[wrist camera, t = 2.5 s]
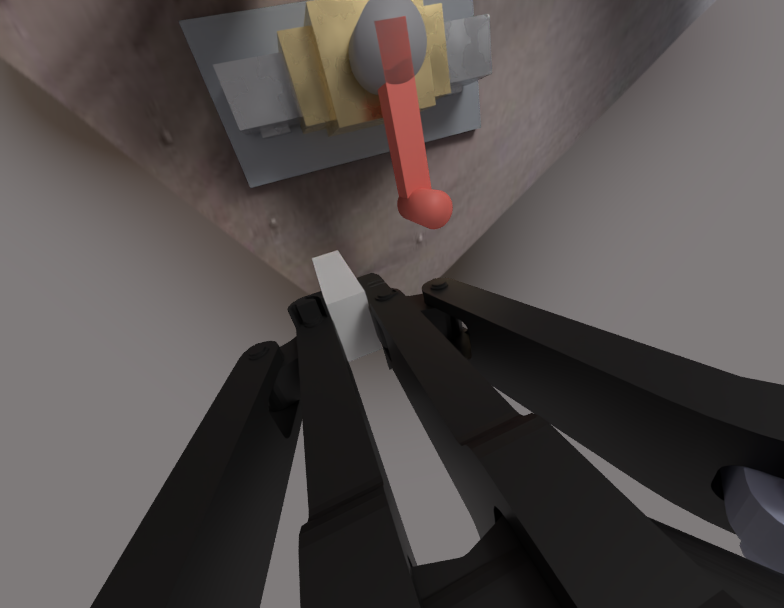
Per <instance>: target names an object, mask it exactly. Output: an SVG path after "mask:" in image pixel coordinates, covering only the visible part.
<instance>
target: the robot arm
mask: <svg viewBox="0 0 784 608" xmlns="http://www.w3.org/2000/svg"><path fill="white" fill-rule="evenodd" d="M312 260H313V264H314V267H315V270H316V274H317V277H318V281H319V284H320V287H321V291H320V292H317V293H314V294H311V295H308V296H305V297H302V298H300V299H298V300H296V301H295V302H293V303H292V304H291V305H290V306H289V307H288V312H289V314H290V316H291V319H292V321H293V323H294V325H295V327H296V333H297V336H296V337H295V338H294V339H292V340H291V341H290V342H288V343H286V344H284V345H283V346H281V347H279V345H278V344H277V343H276V342H275V341H266V342H262V343H258V344H255V346H252V347H250V348H249V349H248V350H247V351H246V352H244V353H243V354H242V356H241V357H240V358H239V360H238V362H237V363H236V365H235V367H234V368H233V370H232V372H231V373H230V375H229V377H228V378H227V380H226V382H225V383H224V385H223V387H222V388H221V390H220V392H219V393H218V395H217V397H216V398H215V400H214V402H213V403H212V405H211V407H210V408H209V410H208V412H207V413H206V415H205V417H204V419H203V420H202V422H201V423H200V425H199V427H198V428H197V430H196V432H195V434H194V435H193V437H192V438H191V440H190V442H189V443H188V445H187V447H186V449H185V450H184V452H183V453H182V455H181V457H180V458H179V460H178V462H177V463H176V465H175V467H174V468H173V470H172V472H171V473H170V475H169V477H168V478H167V480H166V482H165V483H164V485H163V487H162V488H161V490H160V492H159V493H158V495H157V497H156V498H155V500H154V502H153V504H152V505H151V507H150V509H149V510H148V512H147V513H146V515H145V517H144V518H143V520H142V522H141V524H140V525H139V527H138V529H137V530H136V532H135V534H134V535H133V537H132V539H131V540H130V542H129V544H128V545H127V547H126V549H125V550H124V552H123V554H122V555H121V557H120V559H119V560H118V562H117V564H116V565H115V567H114V569H113V570H112V572H111V574H110V575H109V577H108V579H107V580H106V582H105V584H104V585H103V587H102V589H101V590H100V592H99V594H98V595H97V597H96V599H95V600H94V602H93V604H92V605H91V607H90V608H260V604H261V599H262V595H263V590H264V586H265V582H266V577H267V572H268V568H269V564H270V560H271V555H272V551H273V546H274V542H275V537H276V533H277V529H278V524H279V520H280V515H281V511H282V506H283V502H284V497H285V493H286V489H287V484H288V480H289V475H290V471H291V467H292V462H293V457H294V453H295V449H296V445H297V440H298V436H299V431H300V427H301V422H302V420H303V435H304V449H305V462H306V463H305V464H306V478H307V492H308V507H309V518H308V522H307V523H306V524H304V525H303V526H302V527H301V530H300V534H299V576H300V577H299V578H300V606H301V608H784V385H781V384H776V383H770V382H765V381H760V380H755V379H750V378H745V377H740V376H737V375H734V374H731V373H728V372H725V371H722V370H719V369H716V368H714V367H711V366H707V365H704V364H702V363H699V362H696V361H693V360H690V359H687V358H684V357H681V356H678V355H675V354H672V353H669V352H666V351H663V350H660V349H657V348H654V347H651V346H648V345H646V344H643V343H640V342H637V341H634V340H631V339H628V338H625V337H622V336H619V335H616V334H613V333H610V332H607V331H604V330H601V329H598V328H595V327H592V326H589V325H586V324H584V323H580V322H578V321H575V320H572V319H568V318H566V317H563V316H560V315H557V314H554V313H551V312H548V311H545V310H542V309H539V308H536V307H533V306H530V305H527V304H524V303H521V302H519V301H516V300H513V299H509V298H506V297H504V296H501V295H498V294H495V293H492V292H489V291H486V290H483V289H480V288H477V287H474V286H471V285H468V284H465V283H462V282H459V281H456V280H453V279H449V278H437V279H436V278H435V279H432V280H431V281H428V282H427V283H425V284H424V285H423V286H422V292H423V294H419V295H413V296H405V295H404V294H403V293H402V292H401V291H400V290H398V289H394V288H390V287H389V286H388V285H387V284H386V282H385V281H384V280H383V279H382V278H381V277H380V276H379V275H377V274H374V273H370V274H367V275H364V276H361V277H358V278H356V277H355V276H354V274H353V273H352V271H351V270H350V268H349V267H348V265H347V264H346V262H345V261H344V259H343V258H342V256H341V255H340V253H339V252H338V250H337V251H333V252H330V253H327V254H324V255H321V256H318V257H315V258H312ZM462 322H463V323H464V324H465V325H466V326H467V328H468V329H466V328H464V327H462ZM380 342H381V343H380ZM381 344H382V346H383V350H384V353H385V356H386V360H387V363H388V366H389V369H393V371H394V373H395V374H396V376H397V378H398V380H399V382H400V384H401V386H402V387H403V389H404V391H405V393H406V395H407V397H408V399H409V401H410V403H411V404H412V406H413V408H414V410H415V412H416V414H417V416H418V417H419V419H420V421H421V423H422V425H423V427H424V429H425V430H426V432H427V434H428V436H429V438H430V440H431V442H432V444H433V445H434V447H435V449H436V451H437V453H438V455H439V457H440V459H441V460H442V462H443V464H444V466H445V468H446V470H447V471H448V473H449V475H450V477H451V479H452V481H453V482H454V485H455V486H456V488H457V490H458V492H459V494H460V496H461V498H462V500H463V501H464V503H465V505H466V507H467V509H468V511H469V513H470V515H471V517H472V519H473V521H474V523H475V526H476V528H477V531H478V533H479V536H480V541H479V542H478V543H477V544H476V545H475V546H474V547H473V548H472V549H471V550H470V552H469V553H467V554H466V555H465V556H463V557H460V558H456V559H451V560H445V561H440V562H435V563H430V564H424V565H419V566H417V563H416V561H415V558H414V555H413V552H412V549H411V546H410V544H409V541H408V538H407V535H406V532H405V529H404V526H403V523H402V520H401V517H400V514H399V511H398V508H397V505H396V502H395V499H394V496H393V493H392V490H391V487H390V484H389V481H388V478H387V475H386V472H385V469H384V466H383V463H382V460H381V457H380V454H379V451H378V448H377V445H376V442H375V439H374V436H373V433H372V430H371V427H370V424H369V421H368V418H367V415H366V412H365V409H364V406H363V403H362V400H361V397H360V394H359V391H358V388H357V385H356V382H355V379H354V376H353V373H352V370H351V368H350V365H349V362H350V361H353V360H355V359H358V358H360V357H363V356H365V355H368V354H370V353H372V352H375V351H378V350H380V349H382V347H381ZM493 387H495V388H496V389H498V390H500V391H501V392H503V393H504V394H506V395H507V396H509V397H510V398H512V399H513V400H515V401H516V402H518V403H519V404H521V405H522V406H524V407H526V408H527V409H528V410H530V411H531V412H533V413H534V414H533V413H531V414H528V415H525V416H523V415H521V414H519V413H518V412H517V411H516V410H515V409H514V408H513V407H512V406H511V405H510V404H509V403H508V402H507V401H506V400H505V399H504V398H503V397H502V396H501V395H500V394H499V393H498V392H497V391H496V390H495V389H494V388H493ZM552 425H553V426H554V427H556V428H557V429H559V430H560V431H562V432H563V433H565V434H567V435H568V436H569V437H571V438H572V439H574V440H575V441H577V442H579V443H580V444H582V445H583V446H584V447H586V448H588V449H589V450H591V451H592V452H594V453H595V454H597V455H598V456H600V457H601V458H603V459H604V460H606V461H607V462H609V463H610V464H612V465H613V466H615V467H616V468H618V469H619V470H621V471H622V472H624V473H626V474H627V475H628V476H630V477H632V478H633V479H635V480H636V481H638V482H639V483H641V484H642V485H644V486H646V487H647V488H649V489H650V490H652V491H654V492H655V493H657V494H659V495H660V496H662V497H663V498H665V499H667V500H668V501H670V502H672V503H673V504H675V505H678V506H679V507H681V508H683V509H685V510H687V511H689V512H690V513H692V514H694V515H696V516H698V517H700V518H702V519H704V520H706V521H707V522H710V523H712V524H714V525H716V526H718V527H721V528H723V529H725V530H727V531H730V532H732V533H734V534H736V535H737V536H738V538H739V539H740V540H741V542H740V548H741V550H742V553H743V555H744V556H745V557H746V558H744V557H742V556H739V555H737V554H734V553H732V552H730V551H727V550H725V549H722V548H720V547H718V546H715V545H713V544H711V543H708V542H706V541H703V540H701V539H699V538H696V537H694V536H692V535H689V534H687V533H684V532H682V531H680V530H677V529H675V528H672V527H670V526H668V525H665V524H663V523H661V522H658V521H656V520H654V519H651V518H649V517H647V516H645V514H644V513H642V512H641V511H640V510H639V509H638V508H637V507H636V506H635V505H634V504H633V503H632V502H631V501H630V500H629V499H628V498H627V497H626V496H625V495H624V494H623V493H622V492H620V491H619V490H618V489H617V488H616V487H615V486H614V485H613V484H612V483H611V482H610V481H609V480H608V479H607V478H605V476H604V475H603V474H602V473H601V472H600V471H599V470H598V469H597V468H595V467H594V466H593V465H592V464H591V463H590V462H589V461H588V460H587V459H586V458H585V457H584V456H583V455H582V454H581V453H580V452H578V450H577V449H576V448H574V446H572V445H571V444H570V443H569V442H568V441H567V440H566V439H565V438H564V437H563V436H562V435H561V434H560V433H559V432H558V431H557V430H556V429H555V428H554V427H553V426H552Z"/></svg>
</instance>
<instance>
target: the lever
mask: <svg viewBox="0 0 784 608" xmlns="http://www.w3.org/2000/svg"><path fill="white" fill-rule="evenodd" d="M426 48H427V36H426V29H425V25H424V22H423V19H422V16H421V14H420V12H419V10H418V9H417V7H416V6H415V5H414V3H413V2H412V1H411V0H369V1H368V2H367V4H366V5H365V7H364V9H363V11H362V13H361V15H360V17H359V20H358V22H357V24H356V26H355V28H354V30H353V33H352V35H351V38H350V42H349V52H348V53H349V62H350V66H351V69H352V72H353V74H354V76H355V78H356V80H357V81H358V83H359V84H360V85H361V86H362V87H363V88H364V89H365V90H367V91H368V92H370V93H372V94H375V95H379V100H380V105H381V110H382V115H383V120H384V125H385V130H386V135H387V140H388V145H389V150H390V154H391V159H392V164H393V169H394V174H395V179H396V184H397V189H398V194H399V198H398V203H397V206H398V211H399V213H400V214H401V216H402V217H404V218H405V219H408V220H410V221H412V222H415V223H417V224H420V225H422V226H424V227H427V228H429V229H438V228H441V227H443V226H444V225H445V224H446V223H447V222H448V221H449V219H450V217H451V214H452V208H453V207H452V201H451V199H450V197H449V196H448V195H447V194H446V193H445V192H443V191H440V190H432V189H431V184H430V177H429V170H428V164H427V157H426V150H425V143H424V137H423V130H422V123H421V117H420V110H419V103H418V96H417V90H416V83H415V75H416V74H417V73H418V72H419V70H420V68H421V66H422V64H423V62H424V59H425V55H426Z"/></svg>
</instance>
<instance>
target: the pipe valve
mask: <svg viewBox="0 0 784 608" xmlns="http://www.w3.org/2000/svg"><path fill="white" fill-rule="evenodd" d="M368 1H369V0H313V1H307V2H306V6H305V16H304V26H303V27H298V28H292V29H286V30H280V31H277V40H278V52H279V53H273V54H268V55H262V56H257V57H251V58H246V59H241V60H235V61H230V62H224V63H219V64H213V67H214V69H215V71H216V74H217V76H218V79H219V81H220V84H221V86H222V88H223V91H224V93H225V96H226V98H227V101H228V103H229V105H230V108H231V110H232V113H233V115H234V118H235V120H236V122H237V125H238V127H239V130H240V131H241V132H242V133H243V134H245V135H246V136H249V135H253V134H257V133H261V134H262V136H263V138H264V139H268V138H273V137H277V136H281V135H285V134H290V133H291V131H290V128H289V126H292V125H296V124H300V125H301V128H302V131H303V134H306V133H311V132H315V131H319V130H323V129H326V130H327V133H328V137H331V136H335V135H339V134H344V133H348V132H352V131H356V130H360V129H364V128H368V127H372V126H377V125H381V124H384V120H383V115H382V110H381V105H380V100H379V95H375V94H372V93H370V92H368V91H367V90H365V89H364V88H363V87H362V86H361V85H360V84H359V83H358V81H357V80H356V78H355V76H354V74H353V72H352V69H351V66H350V62H349V53H348V52H349V42H350V38H351V35H352V33H353V30H354V28H355V26H356V24H357V22H358V20H359V17H360V15H361V13H362V11H363V9H364V7H365V5H366V4H367V2H368ZM411 1H412V2H413V3H414V5H415V6H416V7H417V9H418V10H419V12H420V14H421V16H422V19H423V22H424V25H425V29H426V36H427V48H426V55H425V59H424V62H423V64H422V66H421V68H420V70H419V72H418V73H417V74H416V75H415V83H416V90H417V96H418V103H419V110H420V112H421V111H423V110H426V109H428V108H430V107H433V106H435V105H436V101H435V100H437V99H439V98H443V97H447V96H452V95H455V94H457V93H460V92H462V86H466V85H469V84H471V83H473V82H475V81H477V80H480V79H482V78H484V77H486V76H488V75H490V74H492V62H491V40H490V17H489V14H485V15H480V16H474V17H469V18H464V19H458V20H453V21H447V22H444V19H443V10H442V3H438V4H433V5H427V6H424V5H423V0H411Z"/></svg>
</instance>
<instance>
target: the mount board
mask: <svg viewBox="0 0 784 608" xmlns="http://www.w3.org/2000/svg"><path fill="white" fill-rule="evenodd" d="M309 1H313V0H309ZM306 2H307V1H303V2H297V3H290V4H284V5H277V6H271V7H264V8H258V9H251V10H245V11H239V12H232V13H226V14H219V15H213V16H206V17H200V18H193V19H187V20H181V21H179V24H180V26H181V28H182V31H183V33H184V35H185V38H186V40H187V42H188V44H189V47H190V49H191V51H192V54H193V56H194V58H195V61H196V63H197V65H198V68H199V70H200V72H201V75H202V77H203V79H204V81H205V84H206V86H207V88H208V91H209V93H210V95H211V98H212V100H213V102H214V105H215V107H216V109H217V112H218V114H219V116H220V118H221V121H222V123H223V125H224V128H225V130H226V132H227V135H228V137H229V139H230V142H231V144H232V146H233V149H234V151H235V153H236V155H237V158H238V160H239V162H240V165H241V167H242V169H243V172H244V174H245V176H246V179H247V181H248V183H249V186H250V188H252V187H256V186H260V185H264V184H267V183H271V182H275V181H279V180H283V179H287V178H290V177H294V176H298V175H302V174H306V173H309V172H313V171H317V170H321V169H325V168H329V167H332V166H336V165H340V164H344V163H348V162H351V161H355V160H359V159H363V158H367V157H371V156H374V155H378V154H382V153H386V152H390V150H389V145H388V140H387V135H386V130H385V125H384V124H381V125H377V126H372V127H368V128H364V129H360V130H356V131H352V132H348V133H344V134H339V135H335V136H331V137H328V133H327V130H326V129H323V130H319V131H315V132H311V133H306V134H303V131H302V128H301V125H300V124H296V125H292V126H289V128H290V131H291V133H290V134H285V135H281V136H277V137H273V138H268V139H264V138H263V136H262V134H261V133H257V134H253V135H249V136H246V135H245V134H243V133H242V132H241V131H240V130H239V127H238V125H237V122H236V120H235V118H234V115H233V113H232V110H231V108H230V105H229V103H228V101H227V98H226V96H225V93H224V91H223V88H222V86H221V84H220V81H219V79H218V76H217V74H216V71H215V69H214V67H213V64H219V63H224V62H230V61H235V60H241V59H246V58H251V57H257V56H262V55H268V54H273V53H279V52H278V40H277V31H280V30H286V29H292V28H298V27H303V26H304V16H305V6H306ZM438 3H442V10H443V19H444V22H447V21H453V20H458V19H464V18H469V17H474V11H473V0H423V5H424V6H427V5H433V4H438ZM435 101H436V105H435V106H433V107H430V108H428V109H426V110H423V111H421V112H420V117H421V123H422V130H423V137H424V142H428V141H432V140H436V139H439V138H443V137H447V136H451V135H455V134H458V133H462V132H466V131H470V130H474V129H478V128H481V120H480V104H479V89H478V80H477V81H475V82H473V83H471V84H469V85H466V86H462V92H460V93H457V94H455V95H452V96H447V97H443V98H439V99H437V100H435Z"/></svg>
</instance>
